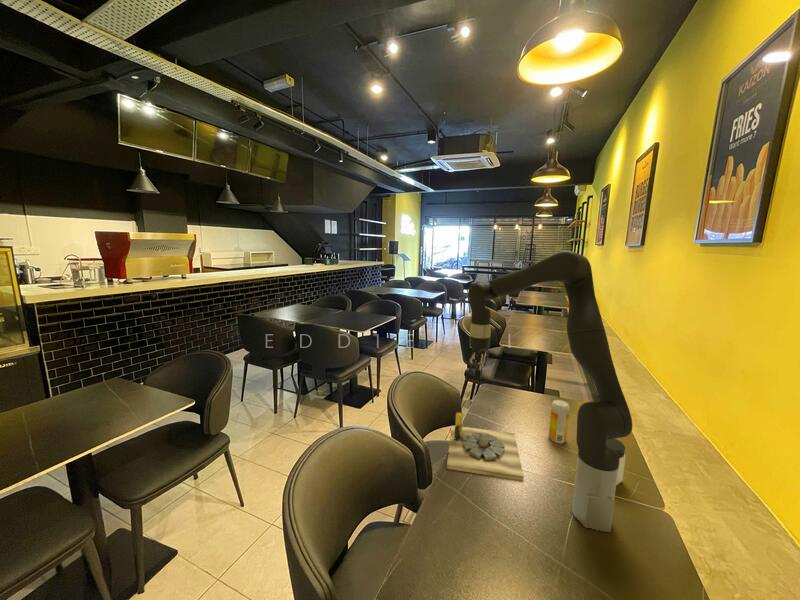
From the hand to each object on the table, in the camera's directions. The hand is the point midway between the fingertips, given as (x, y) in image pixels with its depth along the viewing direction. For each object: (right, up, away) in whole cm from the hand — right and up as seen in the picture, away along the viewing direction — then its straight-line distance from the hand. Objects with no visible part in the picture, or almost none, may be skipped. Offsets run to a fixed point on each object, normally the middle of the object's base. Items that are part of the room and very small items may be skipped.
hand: (478, 378), depth 122 cm
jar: (+36, -27, -20) cm, 49 cm away
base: (0, -24, -8) cm, 26 cm away
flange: (-2, -22, -7) cm, 23 cm away
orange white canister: (+30, -24, -1) cm, 38 cm away
